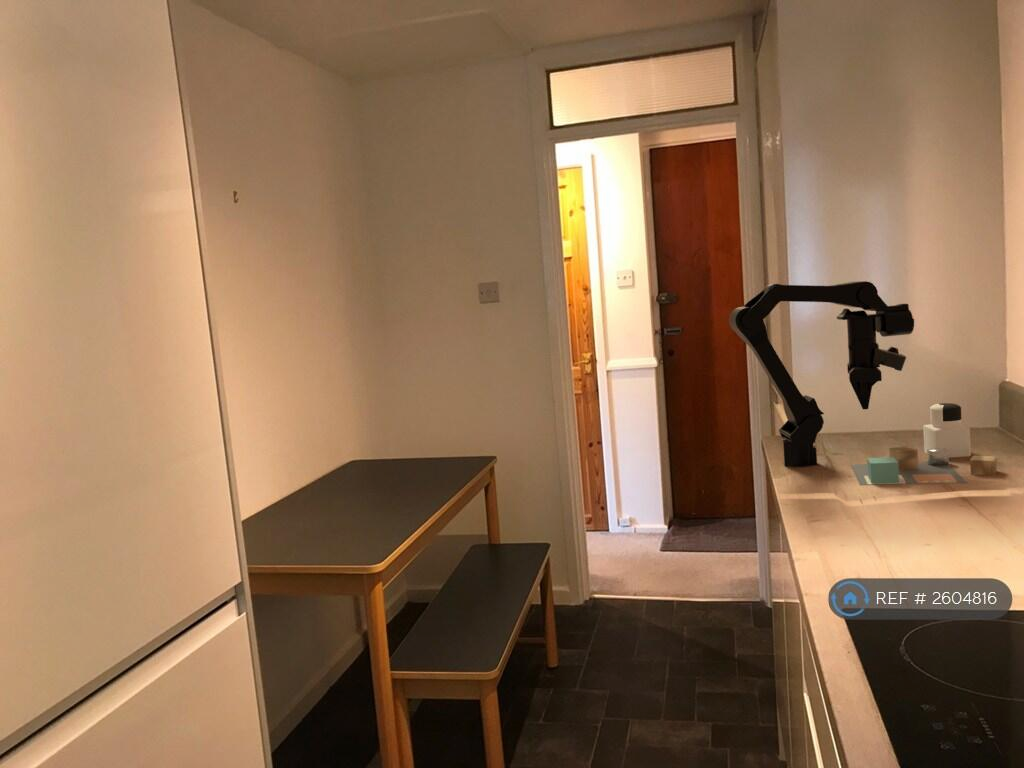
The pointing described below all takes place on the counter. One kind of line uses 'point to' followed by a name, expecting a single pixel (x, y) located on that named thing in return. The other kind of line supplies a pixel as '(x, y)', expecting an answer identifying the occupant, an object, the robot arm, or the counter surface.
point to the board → (914, 475)
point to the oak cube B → (983, 465)
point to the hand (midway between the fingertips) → (865, 409)
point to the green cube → (883, 470)
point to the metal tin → (938, 456)
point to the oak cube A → (905, 457)
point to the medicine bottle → (947, 430)
